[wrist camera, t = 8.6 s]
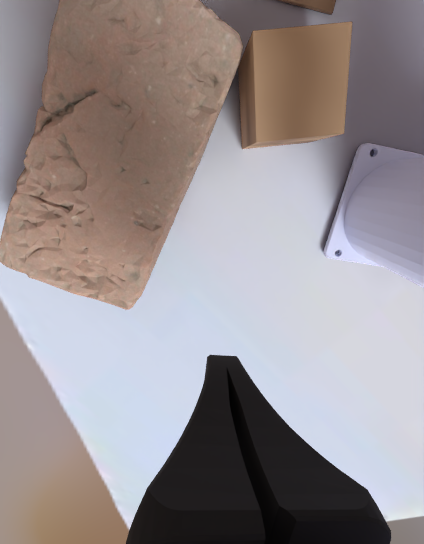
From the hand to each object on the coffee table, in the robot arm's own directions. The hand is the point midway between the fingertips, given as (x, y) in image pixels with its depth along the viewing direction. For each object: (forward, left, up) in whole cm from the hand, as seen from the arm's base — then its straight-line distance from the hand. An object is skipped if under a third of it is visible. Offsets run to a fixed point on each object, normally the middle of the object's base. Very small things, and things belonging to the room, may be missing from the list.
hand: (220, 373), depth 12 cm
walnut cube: (-2, -13, -10) cm, 16 cm away
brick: (+7, -8, -10) cm, 15 cm away
